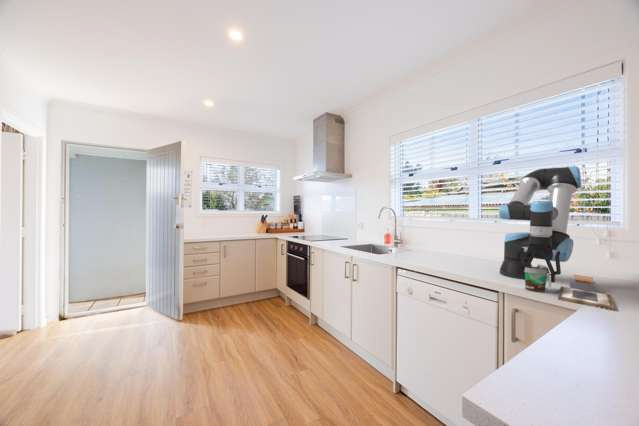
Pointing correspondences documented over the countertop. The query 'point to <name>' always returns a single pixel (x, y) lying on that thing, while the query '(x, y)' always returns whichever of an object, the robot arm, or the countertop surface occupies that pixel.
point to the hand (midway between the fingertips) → (538, 287)
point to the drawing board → (586, 298)
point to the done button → (583, 279)
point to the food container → (536, 278)
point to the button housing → (583, 285)
